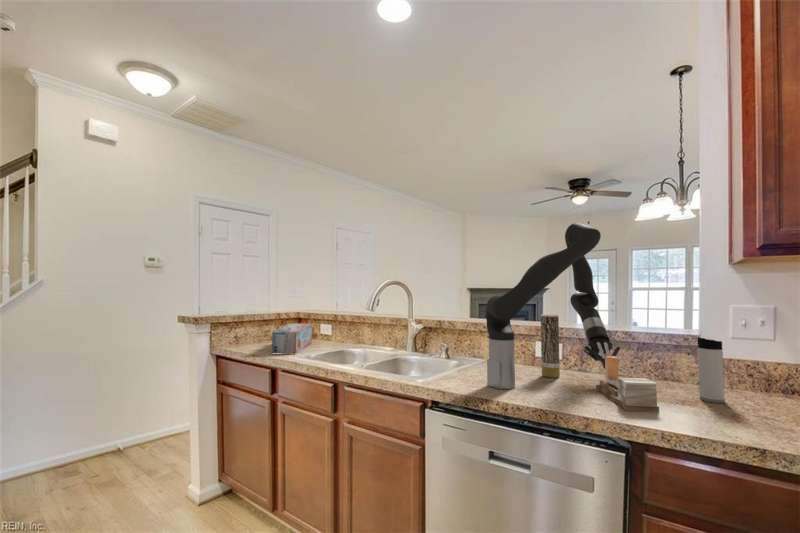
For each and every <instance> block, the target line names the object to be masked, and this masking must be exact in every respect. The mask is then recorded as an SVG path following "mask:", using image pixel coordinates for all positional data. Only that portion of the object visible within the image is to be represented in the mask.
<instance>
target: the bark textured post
mask: <svg viewBox="0 0 800 533" xmlns="http://www.w3.org/2000/svg"><path fill="white" fill-rule="evenodd" d="M559 324H560V323H559V314H556V313H555V314H552V313H542V314H540V346H541V347H540V348H541V349H540V350H541V351H540V353H541V375H542V377H545V378H551V379H557V378H559V377H560V375H561V374H560V332H559V331H560V330H559V328H560V326H559Z"/></svg>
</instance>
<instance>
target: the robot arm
mask: <svg viewBox="0 0 800 533" xmlns="http://www.w3.org/2000/svg"><path fill="white" fill-rule="evenodd" d="M564 240H565V245H566V248H565V249H561V250H559V251H556V252H553V253H550V254H547V255H544V256H543V257H540V258H539V259H538V260H536V262H534V263H533V264H532V265H531V266H530V267H529V268H528V269H527V270H526V271H525V273H524V275H522V278H521V279H520V280H519V282H518V283H517V284H516V285H515V286H514V287H512V289H510V290H509V291H507V292H506V293H504V294H502V295H493V296H492V297H490V298H489V299H488V301H487V303H486V308H485V315H486V319H485V320H486V330H487V333H488V359H487V360H486V378H487V379H486V381H487V383H486V384H487V386H488V387H491V388H495V389H497V390H509V389H514V388H516V362H515V359H516V358H515V357H516V356H515V351H516V350H515V331H514V330H513V328H512V326H511V320H512V319H513V318H515V317H516V316H517V315H518V313H519V312H520V311H521V310H522V309H523V307H524V306H525V305H527V304H528V303H529V301H530V300H532V299H533V298H534V297H535V296H537V295H538V294H540V293H541V292H542V291H543V290H544V289H545V288H547V286H549V285H550V284H551V283H553V282H554V280H556V279H557V278H558V277H559V276H560V275H561V274H563V273H564V272H565V271H566V270H567V269H569V267H571V266H572V274H573V287H574V290H575V291H576V292H577V293H576V292H575V293H573V294H572V295H571V296H570V300H569V302H570V304H571V306H572V308H573V310H575V312H576V313H577V315H578V316H579V317H580V320H581V323H582V326H583V331H584V334H585V338H586V340H587V343H588V344H587V345H585V347H584V349H583V352H584V353H585V354H586V355H588V356H589V357H590V358H592V359H593V360H594V361H595V362H598V361H599V362H600V363H601V365H602V368H603V369H604V370H605V356H615V357H617V355H618V354H619V352H620V349H621V347H620V346H614V344H613V343H612V342H611V341H610V337H609V334H608V331H607V328H606V326H605V324H604V322H603V320H602V318H601V316H600V313H599V311H598V309H596V308H597V306H598V305H599V303H600V302H599V298H598V295H597V293H596V292H595V288H594V278H593V276H594V275H593V271H592V268H591V266H590V264H589V262H588V260H587V259H586V255H587V254H589V253H590V252H591V251H593V249H595V247H597V245H598V244H599V243H600V240H601V232H600V231H599V229H597V228H595V227H593V226H589V225H586V224H583V223H579V222H574V223H571V224H570V225H569V226H568V227H567V228H566V231H565V233H564ZM611 350H612V351H611ZM610 351H611V352H612V354H610Z"/></svg>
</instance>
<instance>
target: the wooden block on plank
mask: <svg viewBox="0 0 800 533" xmlns="http://www.w3.org/2000/svg"><path fill="white" fill-rule="evenodd" d="M595 389H596V390H597V391H598V392H600V393H601V394H603V395H604V396H605V397H606V398H608V399H609V400H610V401H612V402H614V403H615V404H616V405H617V406H619V407H620V408H621V409H624V411H626V412H644V413H645V412H647V413H649V412H650V413H659V412H660V406H658V396H657V395H658V394H657V393H658V392H657V390H658V389H657V383H656V382H655V381H653V380H650V379H648V378H635V377H618V390H617V389H615V388H614V387H611V386H610V385H608V384H607V383H606V381H604V380H599V384H595Z"/></svg>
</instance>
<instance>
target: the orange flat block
mask: <svg viewBox="0 0 800 533" xmlns="http://www.w3.org/2000/svg"><path fill="white" fill-rule="evenodd" d="M604 370H605V383H607V384H608V385H610V386H611V387H614V388H615V389H617V390H618V378H619V357H617V356H616V357H615V356H611V355H610V356H605V369H604Z"/></svg>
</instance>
